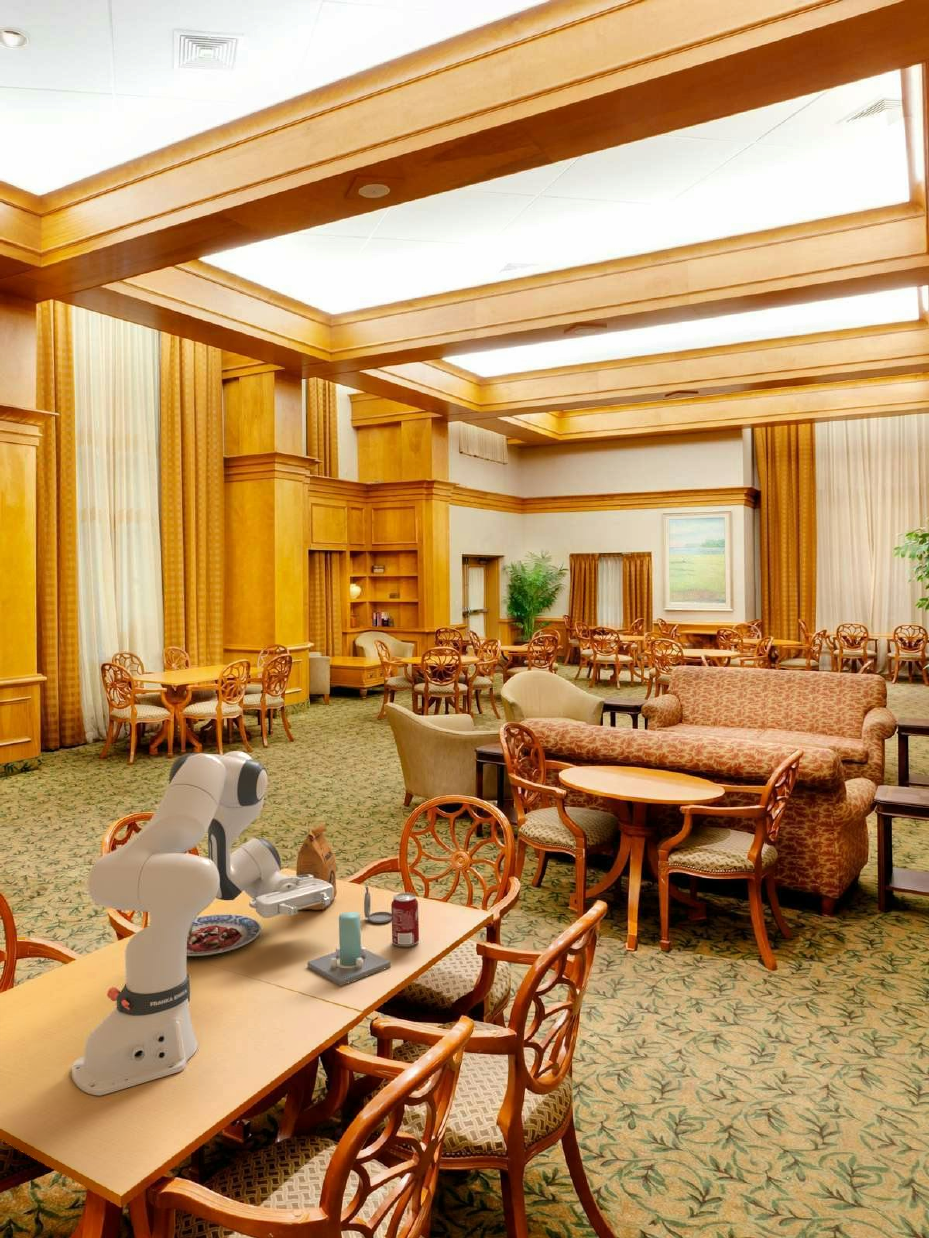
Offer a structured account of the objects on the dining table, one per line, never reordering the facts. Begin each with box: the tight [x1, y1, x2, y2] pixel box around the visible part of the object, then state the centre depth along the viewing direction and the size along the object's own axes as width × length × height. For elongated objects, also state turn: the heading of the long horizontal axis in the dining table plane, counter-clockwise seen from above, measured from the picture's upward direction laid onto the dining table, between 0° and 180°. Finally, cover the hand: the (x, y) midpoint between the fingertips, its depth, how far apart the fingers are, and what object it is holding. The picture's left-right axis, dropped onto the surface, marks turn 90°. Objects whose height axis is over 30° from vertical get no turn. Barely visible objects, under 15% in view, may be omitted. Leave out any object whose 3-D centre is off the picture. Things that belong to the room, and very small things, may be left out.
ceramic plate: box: [187, 913, 262, 957], centre depth 216 cm, size 26×26×3 cm
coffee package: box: [295, 824, 337, 911], centre depth 240 cm, size 10×12×22 cm
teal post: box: [338, 911, 362, 966], centre depth 199 cm, size 5×5×11 cm
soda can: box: [391, 892, 420, 948], centre depth 212 cm, size 7×7×12 cm
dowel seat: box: [307, 946, 391, 987], centre depth 199 cm, size 14×14×3 cm
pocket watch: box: [363, 883, 392, 924], centre depth 228 cm, size 8×8×10 cm
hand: (311, 906), depth 206 cm, fingers open, 8 cm apart
